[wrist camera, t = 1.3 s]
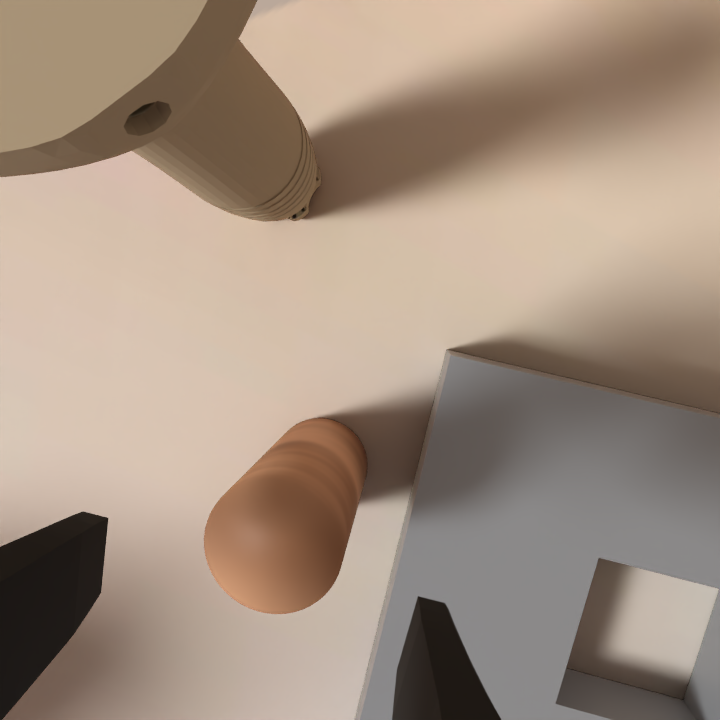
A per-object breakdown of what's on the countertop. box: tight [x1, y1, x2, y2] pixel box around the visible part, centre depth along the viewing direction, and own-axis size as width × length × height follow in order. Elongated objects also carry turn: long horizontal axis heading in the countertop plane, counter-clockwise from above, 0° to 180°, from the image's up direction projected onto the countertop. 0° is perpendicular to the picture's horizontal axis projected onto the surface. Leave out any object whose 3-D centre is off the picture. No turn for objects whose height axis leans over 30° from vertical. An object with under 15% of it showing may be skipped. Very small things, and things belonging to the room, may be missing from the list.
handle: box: [0, 0, 321, 221], centre depth 15 cm, size 5×6×15 cm
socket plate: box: [355, 350, 720, 720], centre depth 21 cm, size 18×20×2 cm
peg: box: [204, 418, 367, 614], centre depth 19 cm, size 4×4×8 cm
